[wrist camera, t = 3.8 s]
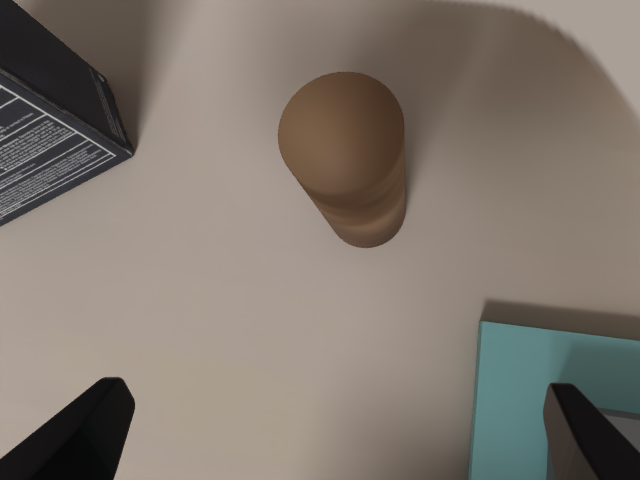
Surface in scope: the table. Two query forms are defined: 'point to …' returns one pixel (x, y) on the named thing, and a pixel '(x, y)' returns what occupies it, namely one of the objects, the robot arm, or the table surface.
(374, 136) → the peg
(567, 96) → the table surface
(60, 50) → the small box
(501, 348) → the docking socket
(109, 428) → the robot arm
